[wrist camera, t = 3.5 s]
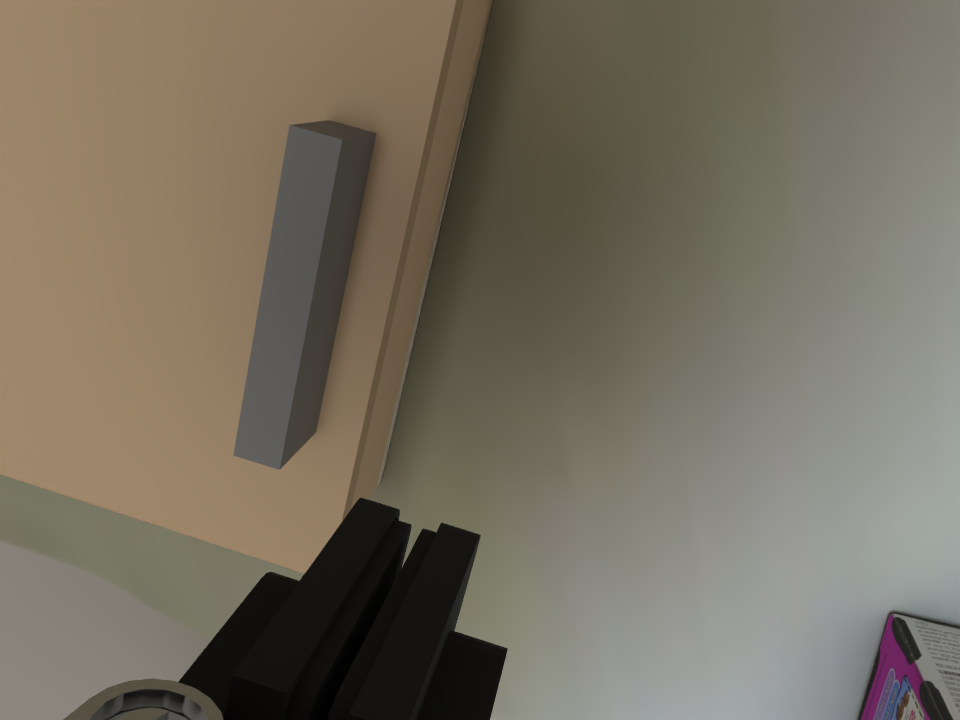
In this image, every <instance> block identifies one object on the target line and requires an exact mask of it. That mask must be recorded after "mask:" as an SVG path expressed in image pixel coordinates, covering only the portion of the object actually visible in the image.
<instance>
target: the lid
mask: <svg viewBox="0 0 960 720" xmlns="http://www.w3.org/2000/svg"><path fill="white" fill-rule="evenodd" d="M463 3H464V0H0V474H2V475H5V476H8V477H11V478H14V479H17V480H20V481H23V482H26V483H29V484H32V485H35V486H38V487H41V488H44V489H47V490H50V491H53V492H57V493H60V494H63V495H66V496H69V497H72V498H75V499H78V500H81V501H84V502H87V503H90V504H93V505H96V506H99V507H102V508H105V509H108V510H112V511H115V512H118V513H121V514H124V515H127V516H130V517H133V518H136V519H139V520H142V521H145V522H148V523H151V524H154V525H157V526H160V527H163V528H167V529H170V530H173V531H176V532H179V533H182V534H185V535H188V536H191V537H194V538H197V539H200V540H203V541H206V542H209V543H212V544H215V545H218V546H222V547H225V548H228V549H231V550H234V551H237V552H240V553H243V554H246V555H249V556H252V557H255V558H258V559H261V560H264V561H267V562H270V563H273V564H277V565H280V566H283V567H286V568H289V569H292V570H295V571H298V572H301V573H304V574H305V573H306V571H307V570H308V569H309V567H310V566H311V564H312V563H313V562H314V560H315V559H316V557H317V556H318V555H319V553H320V552H321V550H322V549H323V548H324V546H325V545H326V543H327V542H328V541H329V539H330V538H331V536H332V535H333V534H334V532H335V531H336V530H337V528H338V527H339V525H340V524H341V523H342V521H343V520H344V518H345V517H346V516H347V514H348V513H349V511H350V510H351V506H352V502H353V497H354V493H355V488H356V484H357V479H358V475H359V470H360V466H361V461H362V457H363V452H364V448H365V443H366V439H367V434H368V430H369V425H370V421H371V416H372V412H373V407H374V403H375V398H376V394H377V390H378V385H379V381H380V376H381V372H382V367H383V363H384V358H385V354H386V349H387V345H388V340H389V336H390V331H391V327H392V322H393V318H394V313H395V309H396V304H397V300H398V295H399V291H400V286H401V282H402V277H403V273H404V268H405V264H406V259H407V255H408V250H409V246H410V241H411V237H412V232H413V228H414V223H415V219H416V214H417V210H418V205H419V201H420V196H421V192H422V187H423V183H424V178H425V174H426V169H427V165H428V160H429V156H430V151H431V147H432V142H433V138H434V133H435V129H436V124H437V120H438V115H439V111H440V106H441V102H442V97H443V93H444V88H445V84H446V79H447V75H448V70H449V66H450V61H451V57H452V52H453V48H454V43H455V39H456V34H457V30H458V25H459V21H460V16H461V12H462V7H463Z"/></svg>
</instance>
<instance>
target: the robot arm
mask: <svg viewBox="0 0 960 720" xmlns="http://www.w3.org/2000/svg"><path fill="white" fill-rule="evenodd" d="M399 515H400V510H399V509H396V508H393V507H390V506H387V505H383V504H380V503H377V502H374V501H371V500H367V499H364V498H359V499H358V500H357V502H356V503H355V504H354V506H353V507H352V509H351V510H350V511H349V513H348V514H347V516H346V517H345V518H344V520H343V521H342V523H341V524H340V525H339V527H338V528H337V530H336V531H335V532H334V534H333V535H332V536H331V538H330V539H329V541H328V542H327V543H326V545H325V546H324V548H323V549H322V550H321V552H320V553H319V555H318V556H317V557H316V559H315V560H314V562H313V563H312V564H311V566H310V567H309V569H308V570H307V571H306V573H305V574H304V576H303V577H302V578H301V580H300V581H298V580H295V579H292V578H289V577H285V576H282V575H279V574H276V573H273V572H268V573H266V574H265V575H264V576H263V577H262V578H261V579H260V581H259V582H258V583H257V584H256V586H255V587H254V588H253V589H252V591H251V592H250V593H249V594H248V596H247V597H246V598H245V599H244V601H243V602H242V603H241V604H240V606H239V607H238V608H237V609H236V611H235V612H234V613H233V614H232V616H231V617H230V618H229V619H228V621H227V622H226V623H225V624H224V626H223V627H222V628H221V629H220V631H219V632H218V633H217V634H216V636H215V637H214V638H213V639H212V641H211V642H210V643H209V644H208V646H207V647H206V648H205V649H204V651H203V652H202V653H201V655H200V656H199V657H198V658H197V659H196V661H195V662H194V663H193V664H192V666H191V667H190V668H189V669H188V671H187V672H186V673H185V674H184V676H183V677H182V678H181V679H180V681H179V682H175V681H170V680H160V679H144V680H133V681H128V682H124V683H121V684H118V685H115V686H112V687H109V688H106V689H105V690H103V691H101V692H100V693H98V694H97V695H95V696H93V697H92V698H90V699H89V700H87V701H86V702H85V703H84V704H82V705H81V706H80V707H79V708H77V709H76V710H75V711H74V712H72V713H71V714H70V715H69V716H67V717H66V718H65V719H64V720H490V717H491V713H492V709H493V705H494V701H495V697H496V693H497V689H498V685H499V681H500V677H501V673H502V669H503V666H504V662H505V658H506V653H507V648H504V647H501V646H498V645H495V644H492V643H489V642H486V641H483V640H480V639H477V638H474V637H470V636H467V635H464V634H461V633H458V632H455V631H454V630H455V627H456V623H457V620H458V616H459V612H460V609H461V605H462V602H463V598H464V594H465V591H466V587H467V584H468V580H469V577H470V573H471V569H472V566H473V562H474V559H475V555H476V552H477V548H478V544H479V540H480V535H479V534H476V533H473V532H470V531H466V530H463V529H460V528H457V527H454V526H450V525H447V524H444V523H441V525H440V526H439V528H438V530H437V533H436V532H433V531H430V530H427V529H422V531H421V533H420V534H419V536H418V538H417V540H416V542H415V544H414V546H413V548H412V550H411V552H410V554H409V556H408V558H407V559H406V561H405V563H404V565H403V567H402V564H403V560H404V556H405V552H406V548H407V544H408V540H409V536H410V532H411V524H408V523H405V522H401V521H399ZM401 568H402V569H401Z"/></svg>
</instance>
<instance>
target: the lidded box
mask: <svg viewBox="0 0 960 720" xmlns="http://www.w3.org/2000/svg"><path fill="white" fill-rule="evenodd" d="M492 3H493V0H464V3H463V7H462V12H461V16H460V21H459V25H458V30H457V34H456V39H455V43H454V48H453V52H452V57H451V61H450V66H449V70H448V75H447V79H446V84H445V88H444V93H443V97H442V102H441V106H440V111H439V115H438V120H437V124H436V129H435V133H434V138H433V142H432V147H431V151H430V156H429V160H428V165H427V169H426V174H425V178H424V183H423V187H422V192H421V196H420V201H419V205H418V210H417V214H416V219H415V223H414V228H413V232H412V237H411V241H410V246H409V250H408V255H407V259H406V264H405V268H404V273H403V277H402V282H401V286H400V291H399V295H398V300H397V304H396V309H395V313H394V318H393V322H392V327H391V331H390V336H389V340H388V345H387V349H386V354H385V358H384V363H383V367H382V372H381V376H380V381H379V385H378V390H377V394H376V398H375V403H374V407H373V412H372V416H371V421H370V425H369V430H368V434H367V439H366V443H365V448H364V452H363V457H362V461H361V466H360V470H359V475H358V479H357V484H356V488H355V493H354V497H353V502H352V506H351V509H352V507H353V506H354V504H355V503H356V502H357V500H358V499H359V498H364V499H367V500H369V498H370V497H371V495H372V494H373V492H374V491H375V490H376V488H377V487H378V485H379V484H380V482H381V481H382V476H383V472H384V468H385V464H386V459H387V455H388V451H389V446H390V442H391V438H392V433H393V429H394V425H395V420H396V416H397V412H398V408H399V403H400V399H401V395H402V390H403V386H404V382H405V377H406V373H407V369H408V365H409V360H410V356H411V352H412V347H413V343H414V339H415V334H416V330H417V326H418V321H419V317H420V313H421V309H422V304H423V300H424V296H425V291H426V287H427V283H428V278H429V274H430V270H431V265H432V261H433V257H434V253H435V248H436V244H437V240H438V235H439V231H440V227H441V222H442V218H443V214H444V209H445V205H446V201H447V197H448V192H449V188H450V184H451V179H452V175H453V171H454V166H455V162H456V158H457V153H458V149H459V145H460V141H461V136H462V132H463V128H464V123H465V119H466V115H467V110H468V106H469V102H470V98H471V93H472V89H473V85H474V80H475V76H476V72H477V67H478V63H479V59H480V54H481V50H482V46H483V42H484V37H485V33H486V29H487V24H488V20H489V16H490V11H491V7H492Z"/></svg>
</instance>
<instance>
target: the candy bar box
mask: <svg viewBox="0 0 960 720" xmlns="http://www.w3.org/2000/svg"><path fill="white" fill-rule="evenodd" d="M859 720H960V628H957V627H953V626H950V625H946V624H941V623H937V622H932V621H928V620H924V619H919V618H913V617H907V616H903V615H898V614H891V615H890V616H889V618H888V621H887V624H886V627H885V631H884V634H883V638H882V642H881V645H880V649H879V652H878V656H877V659H876V663H875V666H874V670H873V674H872V677H871V680H870V683H869V686H868V690H867V694H866V698H865V701H864V704H863V707H862V710H861V714H860V717H859Z"/></svg>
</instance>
